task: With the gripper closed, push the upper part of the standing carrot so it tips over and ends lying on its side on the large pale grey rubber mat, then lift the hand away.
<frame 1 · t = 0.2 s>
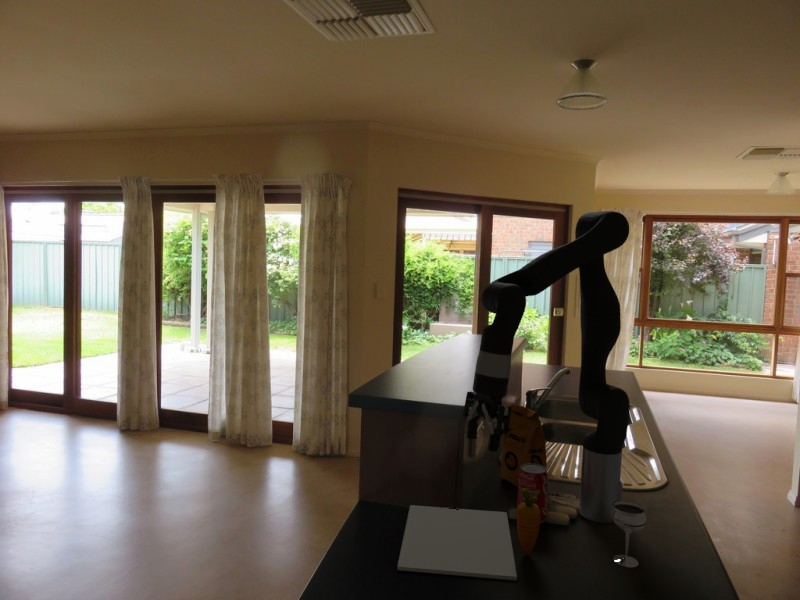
hand: (481, 444, 126), 22 cm above the worktop, tool pointing down, fingers open, 8 cm apart
coffee package: (522, 484, 161), on the worktop
wineglass: (625, 561, 122), on the worktop
soda can: (531, 519, 140), on the worktop
carrot: (526, 555, 123), on the worktop
rubber mat: (457, 540, 129), on the worktop
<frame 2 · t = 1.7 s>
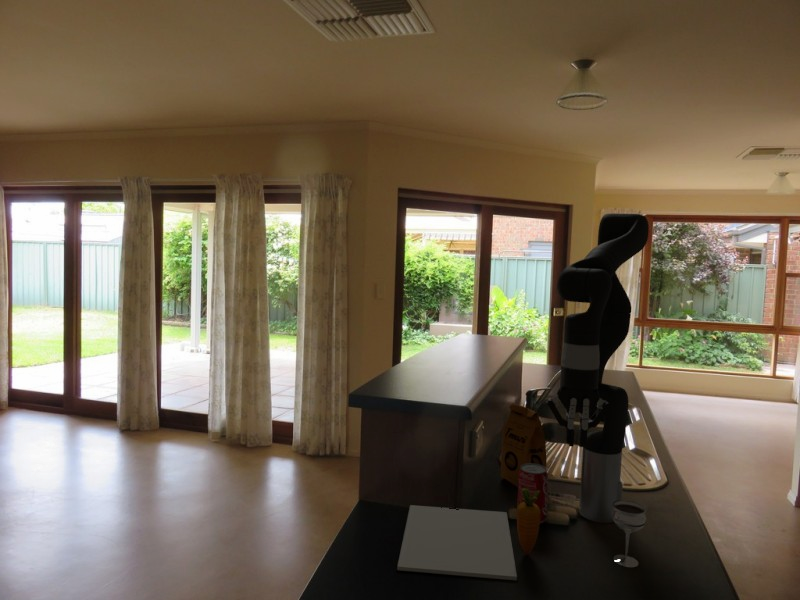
hand: (575, 445, 120), 25 cm above the worktop, tool pointing down, fingers closed
nothing on the worktop moved.
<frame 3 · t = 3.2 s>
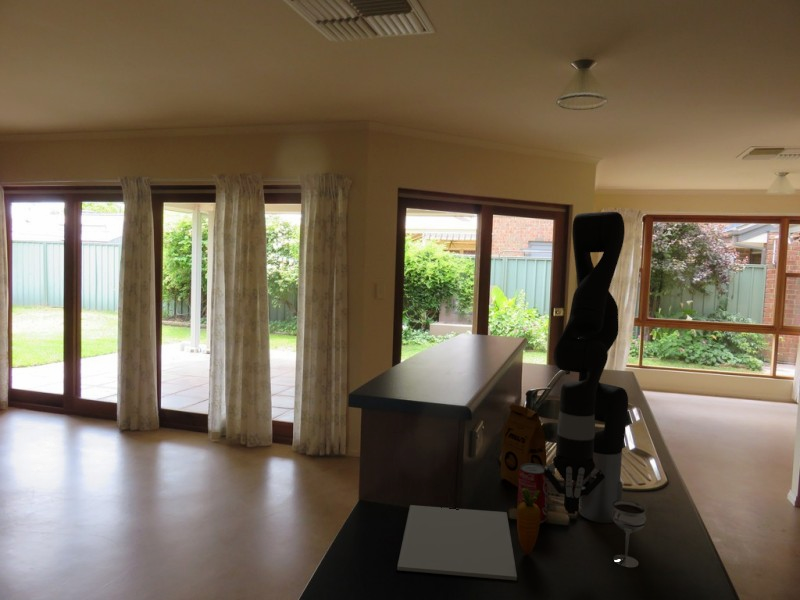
hand: (570, 512, 121), 10 cm above the worktop, tool pointing down, fingers closed
nothing on the worktop moved.
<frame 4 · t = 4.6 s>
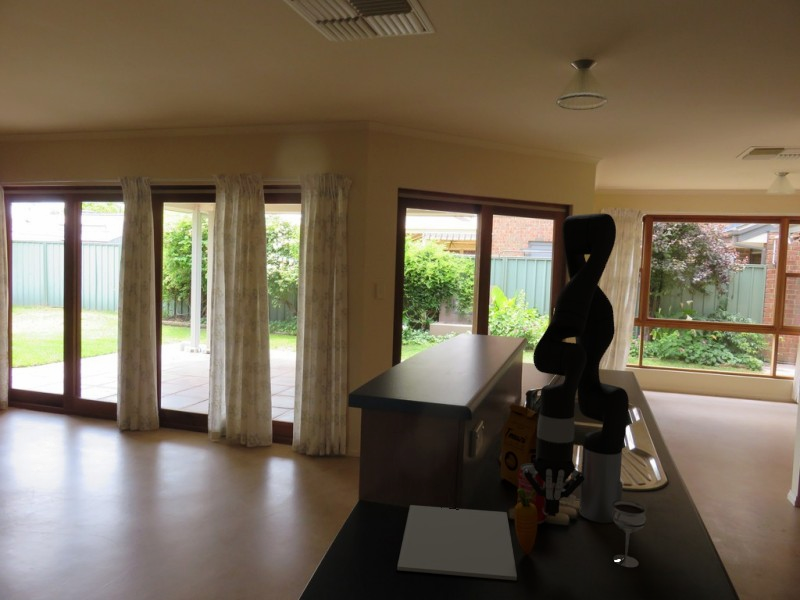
hand: (551, 514, 122), 10 cm above the worktop, tool pointing down, fingers closed
carrot: (526, 555, 123), on the worktop, touching hand
everything else where it was.
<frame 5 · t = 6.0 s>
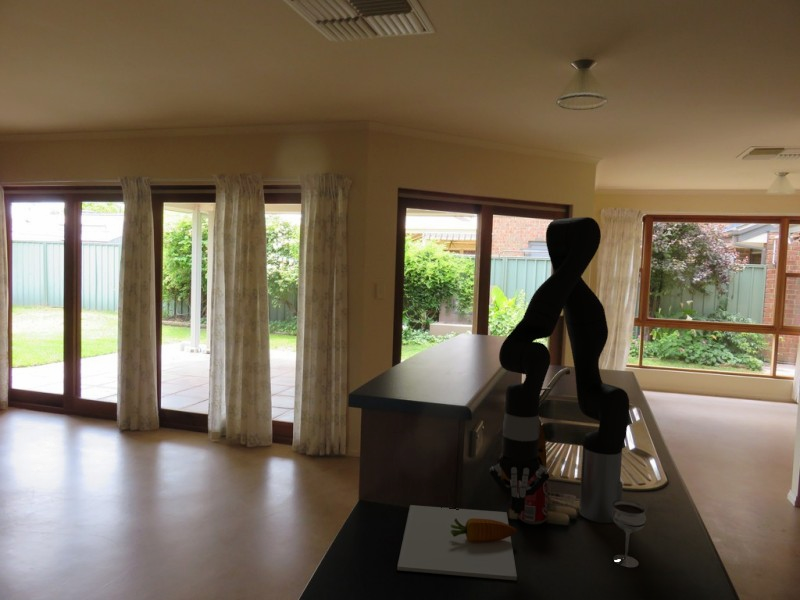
hand: (517, 511, 123), 10 cm above the worktop, tool pointing down, fingers closed
carrot: (517, 530, 128), point 3 cm above the worktop, touching rubber mat
everything else where it was.
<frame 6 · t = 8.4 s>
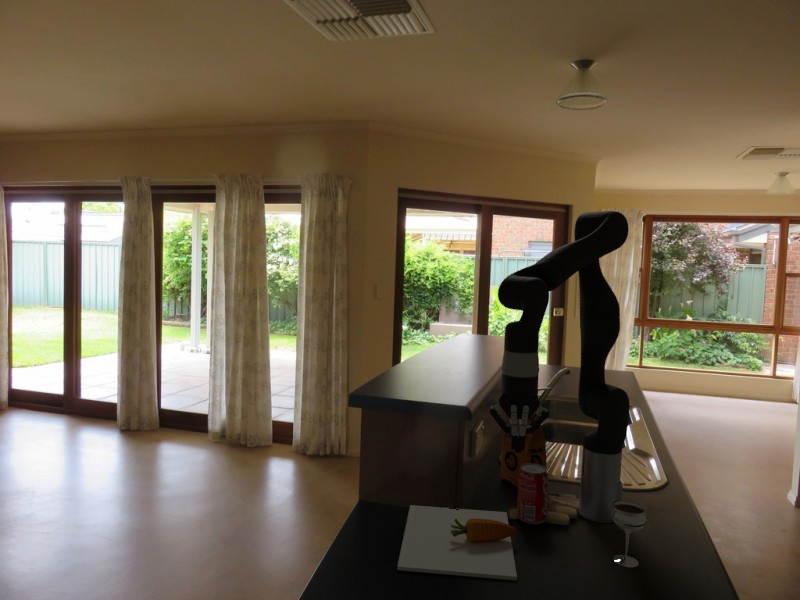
hand: (517, 451, 122), 23 cm above the worktop, tool pointing down, fingers closed
nothing on the worktop moved.
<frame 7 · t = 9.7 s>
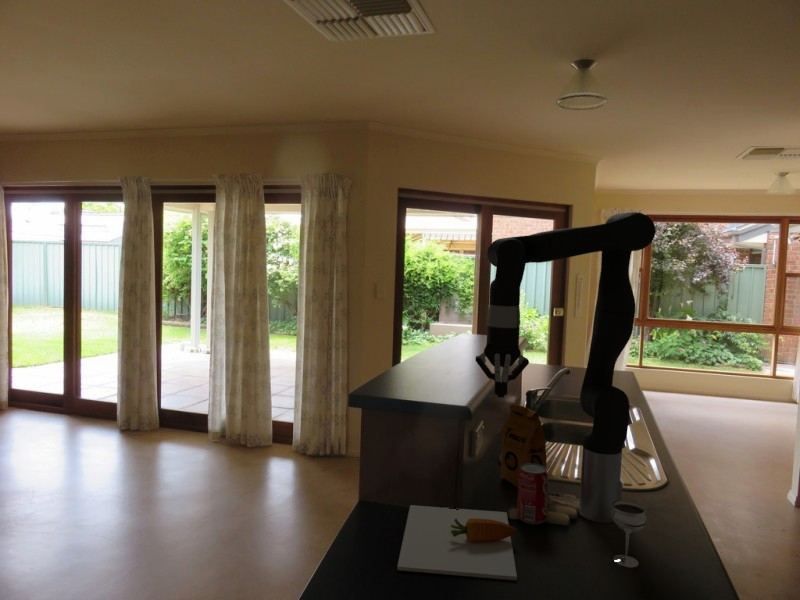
hand: (500, 396, 135), 31 cm above the worktop, tool pointing down, fingers closed
nothing on the worktop moved.
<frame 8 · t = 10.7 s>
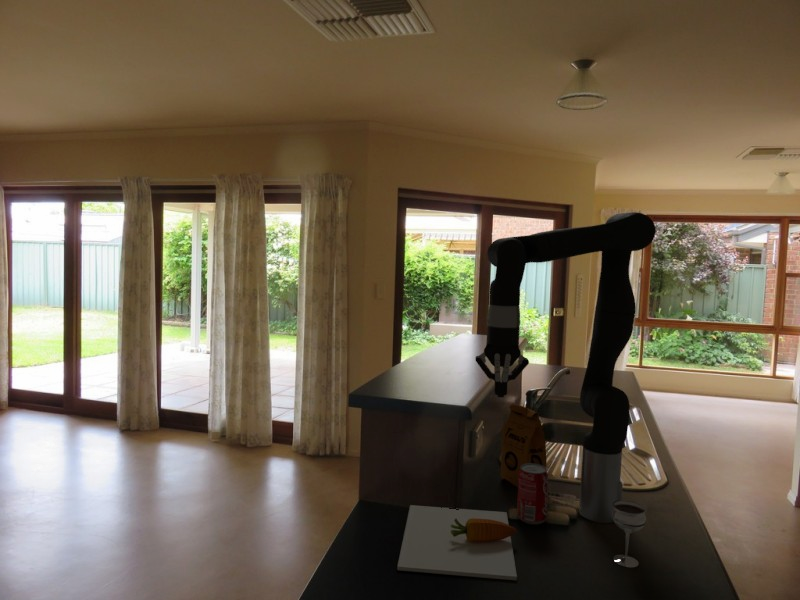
hand: (500, 396, 135), 31 cm above the worktop, tool pointing down, fingers closed
nothing on the worktop moved.
at the end: carrot tilted 89°; carrot touching rubber mat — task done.
